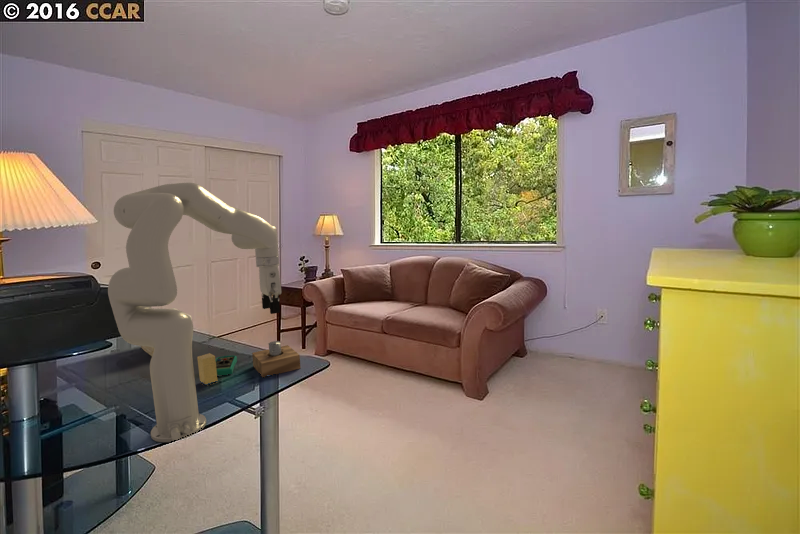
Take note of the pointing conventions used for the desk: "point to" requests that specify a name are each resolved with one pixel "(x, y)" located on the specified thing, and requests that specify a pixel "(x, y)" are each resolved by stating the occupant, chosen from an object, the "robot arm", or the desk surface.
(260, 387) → the desk surface
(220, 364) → the digital multimeter
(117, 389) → the desk surface
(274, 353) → the cylinder
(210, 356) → the square bit
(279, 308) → the robot arm
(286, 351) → the bore block
